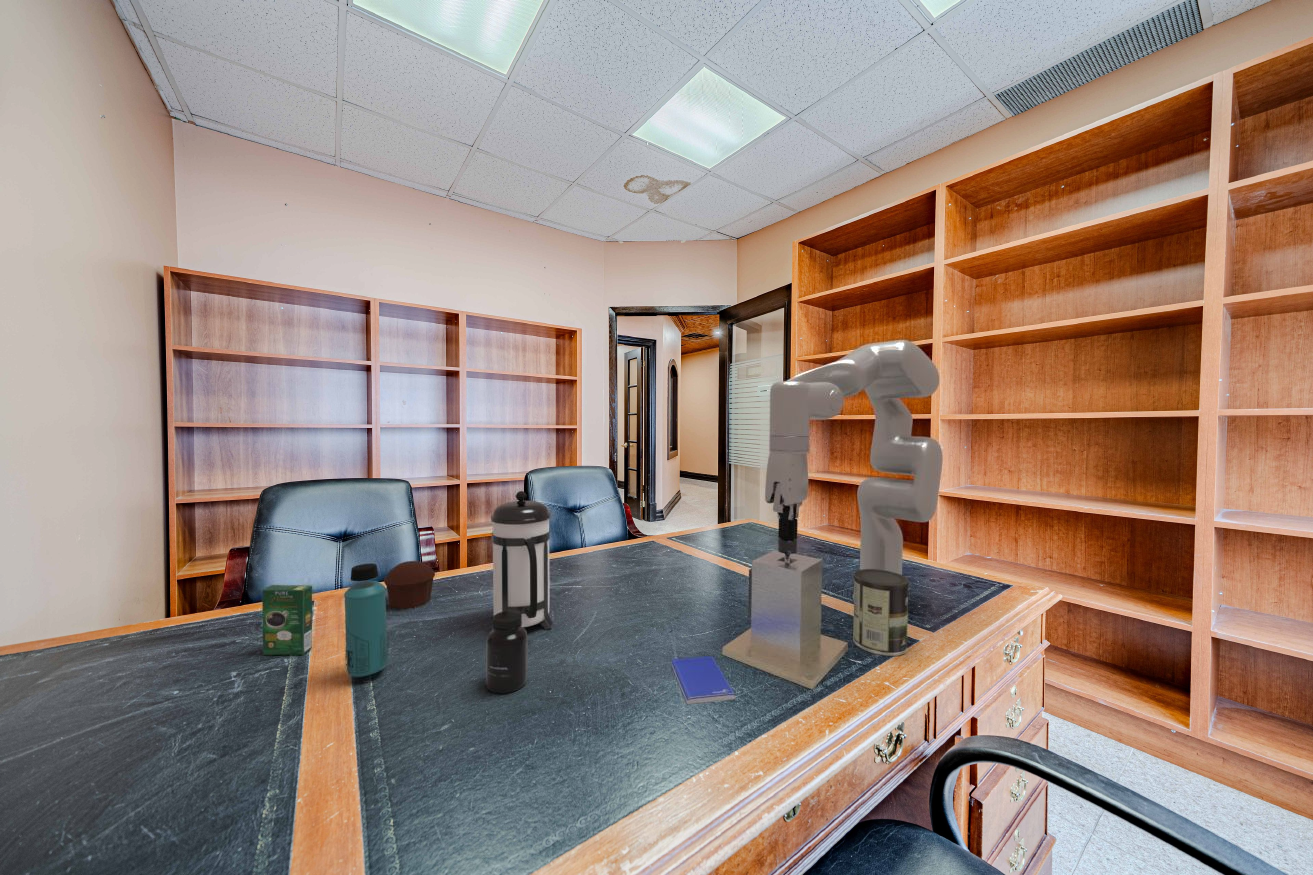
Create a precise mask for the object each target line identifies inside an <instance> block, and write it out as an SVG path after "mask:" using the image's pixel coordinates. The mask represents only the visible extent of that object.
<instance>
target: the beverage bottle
mask: <svg viewBox="0 0 1313 875" xmlns="http://www.w3.org/2000/svg"><path fill="white" fill-rule="evenodd" d="M378 576H379V571H378V566H377V563H362V564H357V565H355V566H352V567H351V572H350V581H351V582H357V583H354V584H352V585H350V587H349V588H348V589H347V590H346V591H345V592H344V594H343V598H344V613H345V614H344V618H343V619H344V628H345V635H344V636H345V638H344V641H345V643H344V645H345V658H344V659H345V662H344V663H345V667H346V669H345V670H346V672H347V675H349V676H351V677H355V678H357V677H359V678H361V677H365V676H370V675H373V674H376V673H378V672H380V671H382V670H383V669H384V668H385V667H386V666H387V664H388V658H389V656H388V655H389V649H388V648H389V643H388V639H389V638H388V622H387V619H388V618H387V613H386V612H387V610H386V609H387V608H386V605H387V604H386V585H385V584H383V583H381V582H379V581H377V580H373V579H376V578H377V577H378Z"/></svg>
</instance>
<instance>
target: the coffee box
mask: <svg viewBox="0 0 1313 875" xmlns="http://www.w3.org/2000/svg"><path fill="white" fill-rule="evenodd" d="M261 592H262V594H261V595H262V597H261V598H262V599H261V601H262V604H261V605H262V655H263V656H275V655H276V656H280V655H281V656H282V655H283V656H284V655H286V656H287V655H289V656H298V655H299V656H300V655H302V656H303V655H305V654H306V652H307V653H308V652H310V651H311V650H312V649H313V585H311V584H310V585H305V584H303V585H300V584H299V585H296V584H295V585H293V584H292V585H288V584H287V585H286V584H271V585H269V586H266V587H264V588H263V589H262V591H261ZM311 648H312V649H311ZM310 649H311V650H310Z"/></svg>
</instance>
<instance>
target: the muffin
mask: <svg viewBox="0 0 1313 875" xmlns="http://www.w3.org/2000/svg"><path fill="white" fill-rule="evenodd" d="M435 576H436V573H435V571H434V570H433V568H431V567H430V566H429V565H428V564H426V563H424V562H422V561H419V560H407V561H403V562H401V563H398V564H397V565H395V566H394V567H392V568H391V569H390V570H389V571H388V573H387V574H386V576H385V577H384V578H383V582H384V586H385V588H386V591H387V595H388V602H389V606H390V607H391V609H392V608H396V609H395V610H399V609H404V610H408V609H409V608H413V609H416V608H418V606H419V607H422V606H425V605H426V604H427V603H428V602H430V601H431V597H432V590H433V583H434V578H435ZM421 605H422V606H421ZM415 607H416V608H415ZM409 610H410V609H409Z"/></svg>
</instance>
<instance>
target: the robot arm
mask: <svg viewBox="0 0 1313 875" xmlns="http://www.w3.org/2000/svg"><path fill="white" fill-rule="evenodd" d="M938 370H939V369H938V368H937V366H936V364H935V363H934V362H933V361H932V359H931V358H930V357H929V356H928V355H927V354H926V353H925V352H924V351H923V349H921V348H920V347H919V346H918V345H916V344H915V343H913V342H912V341H909V340H906V339H897V340H890V341H889V340H888V341H881V342H872V343H867V344H864V345H861V346H859V347H857V348H855V349H854V350H852V351H851V352H849V353H848V354H846V355H845V356H843V357H841V358H839V359H838V360H836V361H833V362H829V363H827V364H825V365H821V366H818V367H816V368H813V369H810V370H807V371H805V372H802V373H799V374H797V375H795V376H793V377H791V378H789V379H787V380H783V381H782V380H781V381H777V382H774V383H773V384H771V386H770V392H769V439H768V440H769V446H768V447H769V448H768V449H769V450H768V452H769V453H768V454H769V455H768V459H767V463H766V464H767V465H766V472H765V475H766V476H765V487H764V488H765V490H764V491H765V492H764V501H765V503H767V504H773V506H772V510H773V512H774V513H777V519H778V532H777V533H778V538H780V539H786V540H791V541H793V540H795V539H797V540H798V525H799V524H798V520H799V519H798V518H799V513H800V508H801V506H802V505H803V501H805V500H806V499H808V493H809V466H808V454H810V441H811V440H810V439H811V438H810V434H811V433H810V430H811V428H810V427H811V426H810V424H811V423H810V422H811V420H828V419H829V420H830V419H832V418H834V417H836V416H838V414H839V413H840V412H841V411H842V409H843V407H844V402H845V401H844V398H849V397H852V396H855V395H857V394H859V393H860V392H862V391H863V390H864V391H865V393H866V395H867V397H868V399H869V402H870V403H871V407H872V408H873V411H874V417H875V420H874V427H873V434H872V441H871V442H872V443H871V447H870V456H869V461H870V465H871V467H872V469H874V470H875V471H877V472H880V473H884V474H892V475H902V476H904V475H905V476H913V480H907V479H898V478H890V477H889V478H888V477H881V476H880V477H878V476H876V477H869V478H866V479H864V480H863V481H861V482H860V484H859V485H858V488H857V492H856V493H857V495H856V497H857V503H858V510H859V516H860V519H859V520H860V548H859V550H860V554H859V570H863V569H878V570H885V571H890V572H894V573H898V574H900V575H903V553H904V552H903V546H904V545H903V544H904V538H903V532H902V529H901V527H900V526H899V524H898V522H897V520H896V519H898V520H904V521H908V522H909V521H911V522H917V523H927V522H930V520H932V519H933V517H934V516H935V514H936V511H937V507H938V501H939V492H940V484H941V477H942V471H943V470H942V469H943V458H944V457H943V455H944V454H943V449H942V447H941V444H940V443H939V441H937V440H936V439H934V438H933V437H927V436H913V435H912V431H913V430H912V429H913V424H914V423H913V416H912V413H911V411H910V410H909V408H908V407H907V406H906V405H905V404H904V402H903V401H902V400H901V399H908V398H909V399H910V398H912V399H913V398H914V399H915V398H925V397H930V396H932V395H934V393H935V392H936V391H937V390H938V388H939V385H940V373H939V371H938ZM852 600H853V601H854V592H853V594H852Z"/></svg>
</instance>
